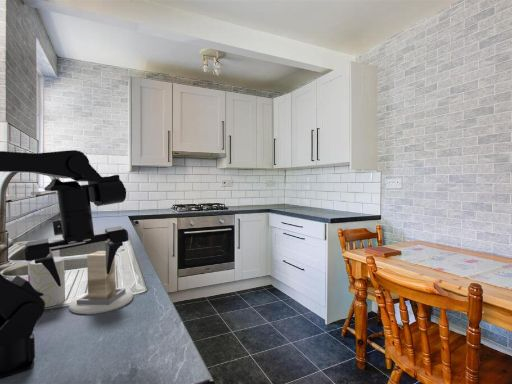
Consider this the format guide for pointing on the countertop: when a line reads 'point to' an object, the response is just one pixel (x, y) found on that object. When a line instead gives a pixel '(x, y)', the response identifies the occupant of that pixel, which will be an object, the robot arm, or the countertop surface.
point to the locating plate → (100, 302)
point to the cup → (48, 281)
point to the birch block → (100, 276)
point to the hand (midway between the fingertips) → (84, 279)
